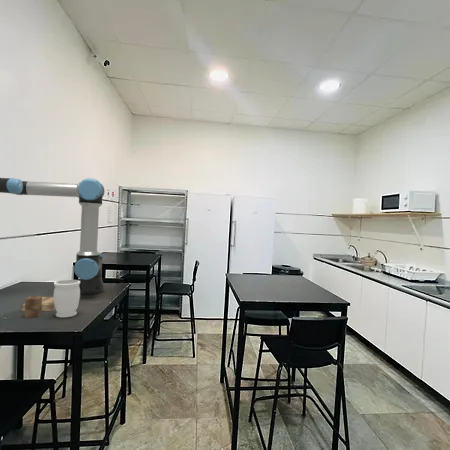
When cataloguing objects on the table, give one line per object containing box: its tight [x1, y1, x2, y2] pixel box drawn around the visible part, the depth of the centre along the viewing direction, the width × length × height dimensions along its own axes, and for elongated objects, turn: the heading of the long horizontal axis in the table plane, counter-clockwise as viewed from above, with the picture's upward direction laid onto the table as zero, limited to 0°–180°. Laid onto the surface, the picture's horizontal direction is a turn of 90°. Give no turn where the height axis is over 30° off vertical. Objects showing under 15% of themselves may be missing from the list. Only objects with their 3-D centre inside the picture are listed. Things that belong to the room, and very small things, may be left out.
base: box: [21, 296, 56, 313], centre depth 147 cm, size 13×14×3 cm
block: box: [24, 295, 43, 319], centre depth 134 cm, size 5×5×8 cm
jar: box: [53, 279, 81, 318], centre depth 137 cm, size 11×10×15 cm
